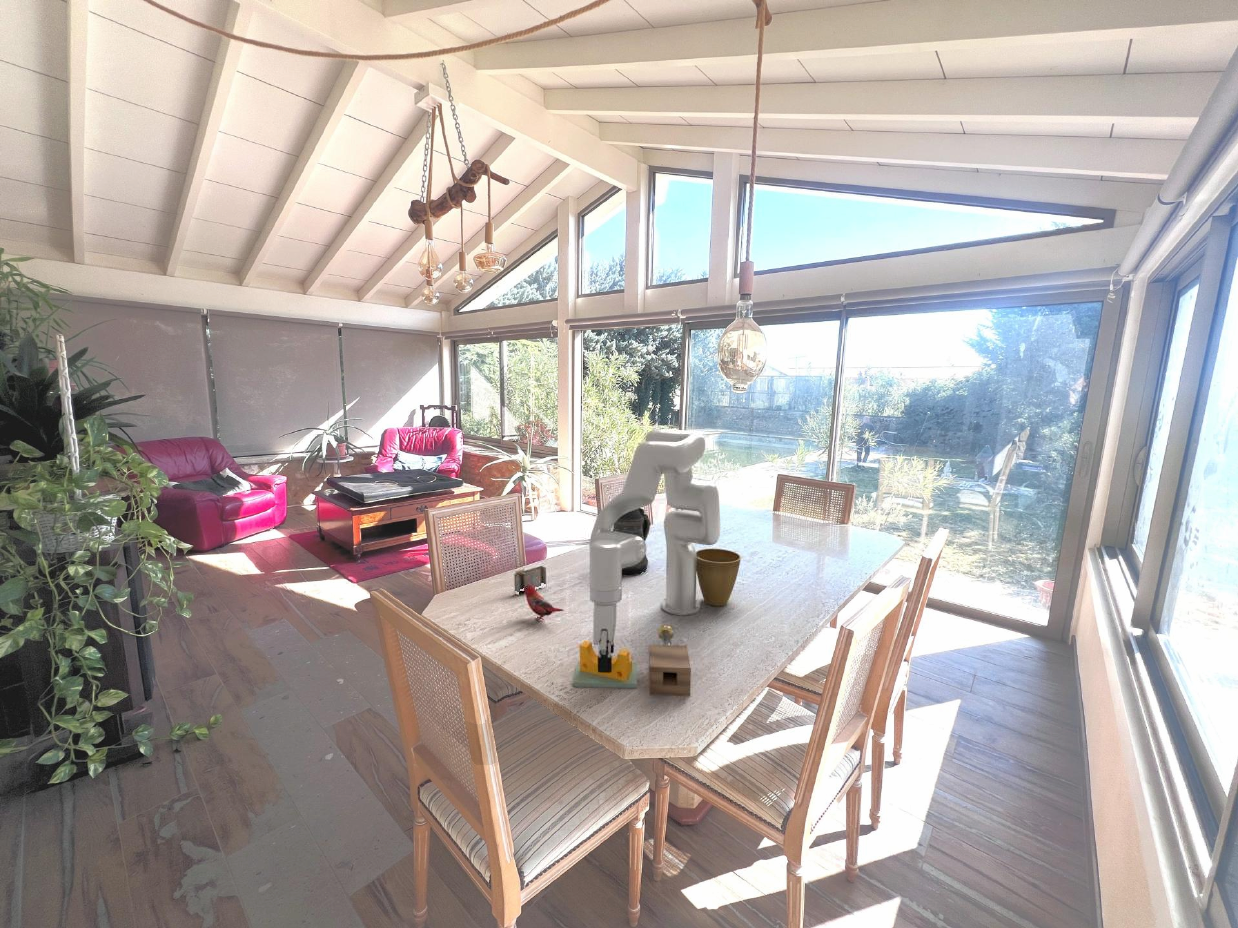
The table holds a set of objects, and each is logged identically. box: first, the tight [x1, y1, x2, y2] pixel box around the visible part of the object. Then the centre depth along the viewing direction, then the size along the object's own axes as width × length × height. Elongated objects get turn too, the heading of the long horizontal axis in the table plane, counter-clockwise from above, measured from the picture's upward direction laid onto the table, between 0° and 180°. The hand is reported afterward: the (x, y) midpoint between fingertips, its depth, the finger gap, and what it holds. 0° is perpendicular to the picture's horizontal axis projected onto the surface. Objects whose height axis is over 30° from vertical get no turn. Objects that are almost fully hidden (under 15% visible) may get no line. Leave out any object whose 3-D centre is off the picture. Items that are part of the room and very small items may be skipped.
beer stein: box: [612, 507, 651, 576], centre depth 192 cm, size 16×19×25 cm
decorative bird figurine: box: [524, 584, 565, 621], centre depth 147 cm, size 3×18×10 cm, turn 50°
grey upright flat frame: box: [513, 565, 547, 592], centre depth 170 cm, size 11×3×10 cm, turn 134°
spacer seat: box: [572, 660, 638, 689], centre depth 119 cm, size 9×15×1 cm, turn 87°
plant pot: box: [696, 548, 742, 607], centre depth 161 cm, size 15×15×16 cm
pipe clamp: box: [579, 640, 633, 681], centre depth 119 cm, size 12×4×6 cm, turn 67°
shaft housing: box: [648, 644, 692, 697], centre depth 116 cm, size 10×9×7 cm
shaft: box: [657, 624, 674, 645], centre depth 125 cm, size 15×4×4 cm, turn 177°
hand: (606, 661), depth 118 cm, fingers open, 8 cm apart
